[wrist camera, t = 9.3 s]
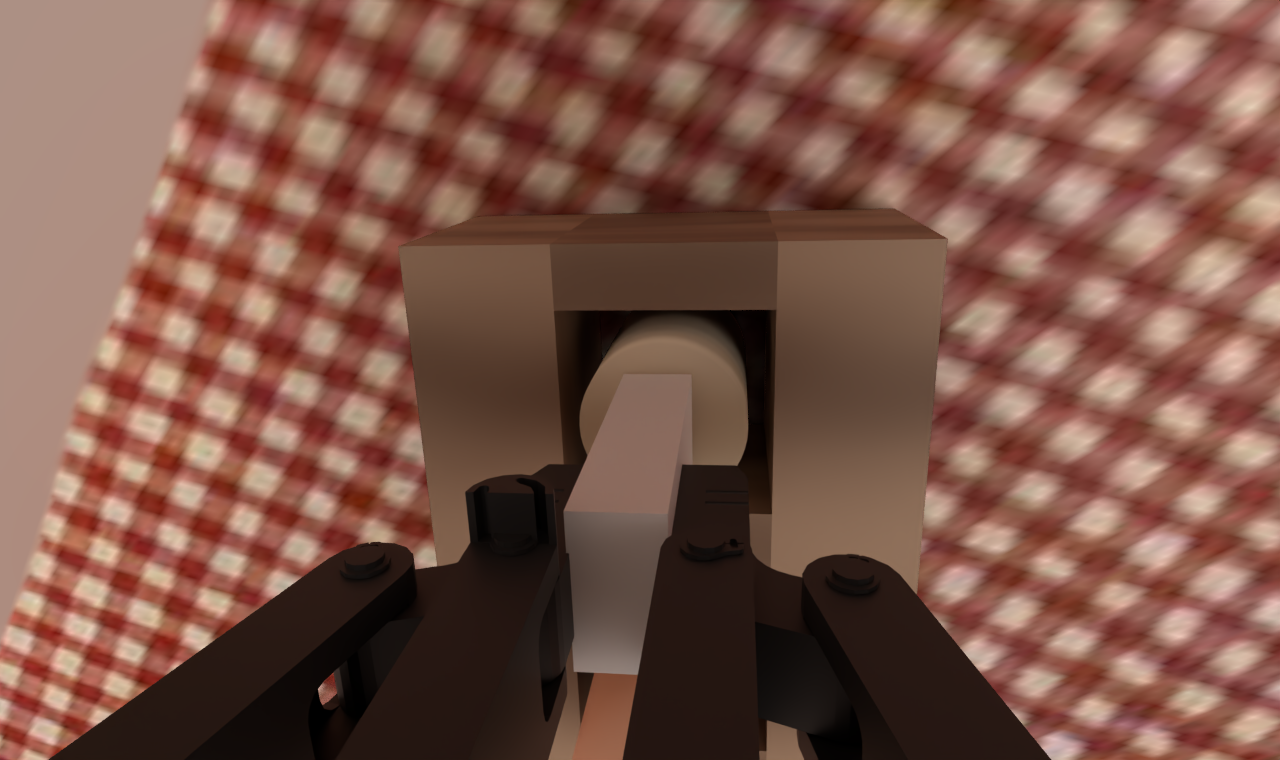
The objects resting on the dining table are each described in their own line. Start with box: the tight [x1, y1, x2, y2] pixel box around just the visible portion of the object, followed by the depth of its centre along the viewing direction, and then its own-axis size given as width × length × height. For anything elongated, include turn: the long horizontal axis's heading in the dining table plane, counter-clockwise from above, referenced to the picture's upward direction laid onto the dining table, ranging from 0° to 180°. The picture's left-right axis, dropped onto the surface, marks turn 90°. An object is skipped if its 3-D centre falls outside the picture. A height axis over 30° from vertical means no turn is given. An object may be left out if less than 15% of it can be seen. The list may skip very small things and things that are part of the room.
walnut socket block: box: [398, 209, 948, 760], centre depth 24 cm, size 22×12×6 cm, turn 2°
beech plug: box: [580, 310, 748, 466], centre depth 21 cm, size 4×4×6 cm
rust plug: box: [572, 673, 638, 760], centre depth 18 cm, size 4×4×6 cm
